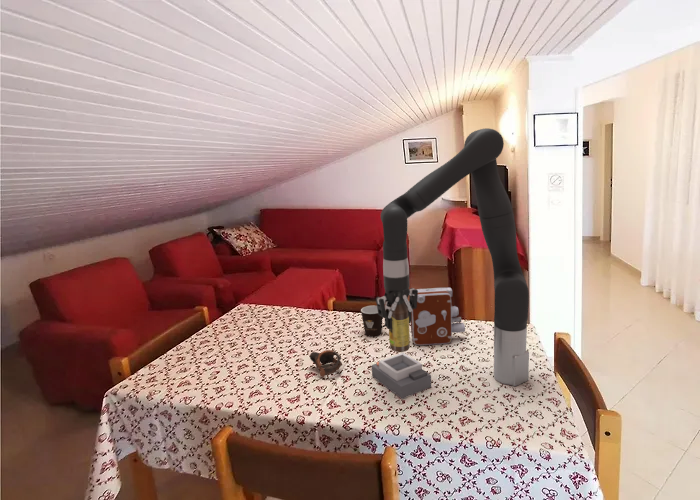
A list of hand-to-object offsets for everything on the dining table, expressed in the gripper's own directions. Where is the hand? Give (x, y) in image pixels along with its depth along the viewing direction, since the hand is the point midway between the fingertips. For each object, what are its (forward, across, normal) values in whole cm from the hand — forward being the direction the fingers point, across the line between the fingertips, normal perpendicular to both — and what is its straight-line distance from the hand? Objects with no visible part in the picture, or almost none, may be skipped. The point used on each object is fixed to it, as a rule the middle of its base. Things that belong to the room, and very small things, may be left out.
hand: (398, 325), depth 136 cm
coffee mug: (+19, +13, +34) cm, 41 cm away
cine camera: (+19, +28, +15) cm, 37 cm away
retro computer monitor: (+19, 0, 0) cm, 19 cm away
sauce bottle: (+8, 0, 0) cm, 8 cm away
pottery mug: (+19, -16, +21) cm, 32 cm away
